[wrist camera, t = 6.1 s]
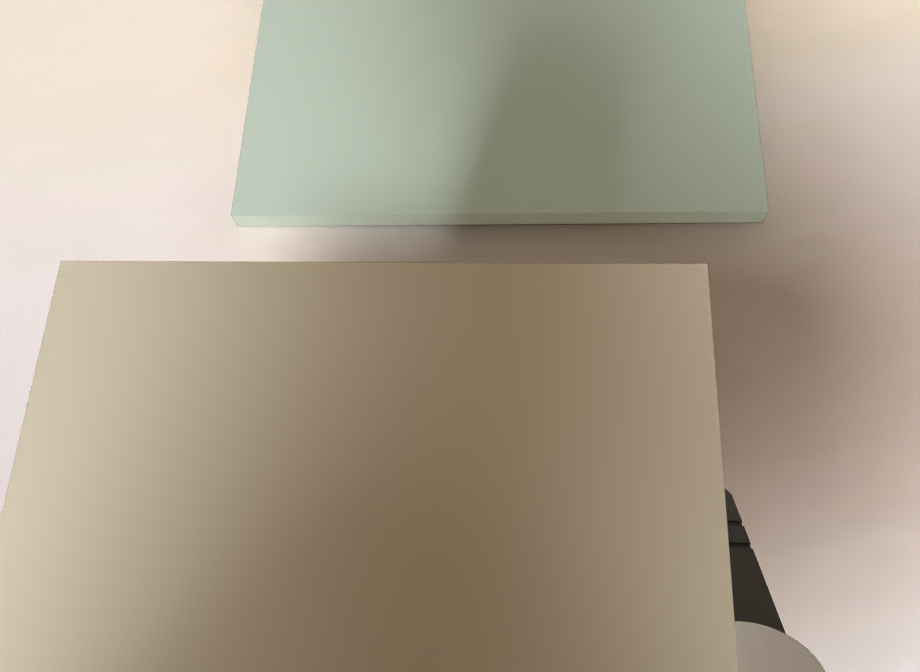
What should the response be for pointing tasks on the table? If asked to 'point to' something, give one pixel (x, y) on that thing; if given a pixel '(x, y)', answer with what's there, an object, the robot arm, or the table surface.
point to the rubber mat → (500, 114)
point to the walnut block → (370, 471)
